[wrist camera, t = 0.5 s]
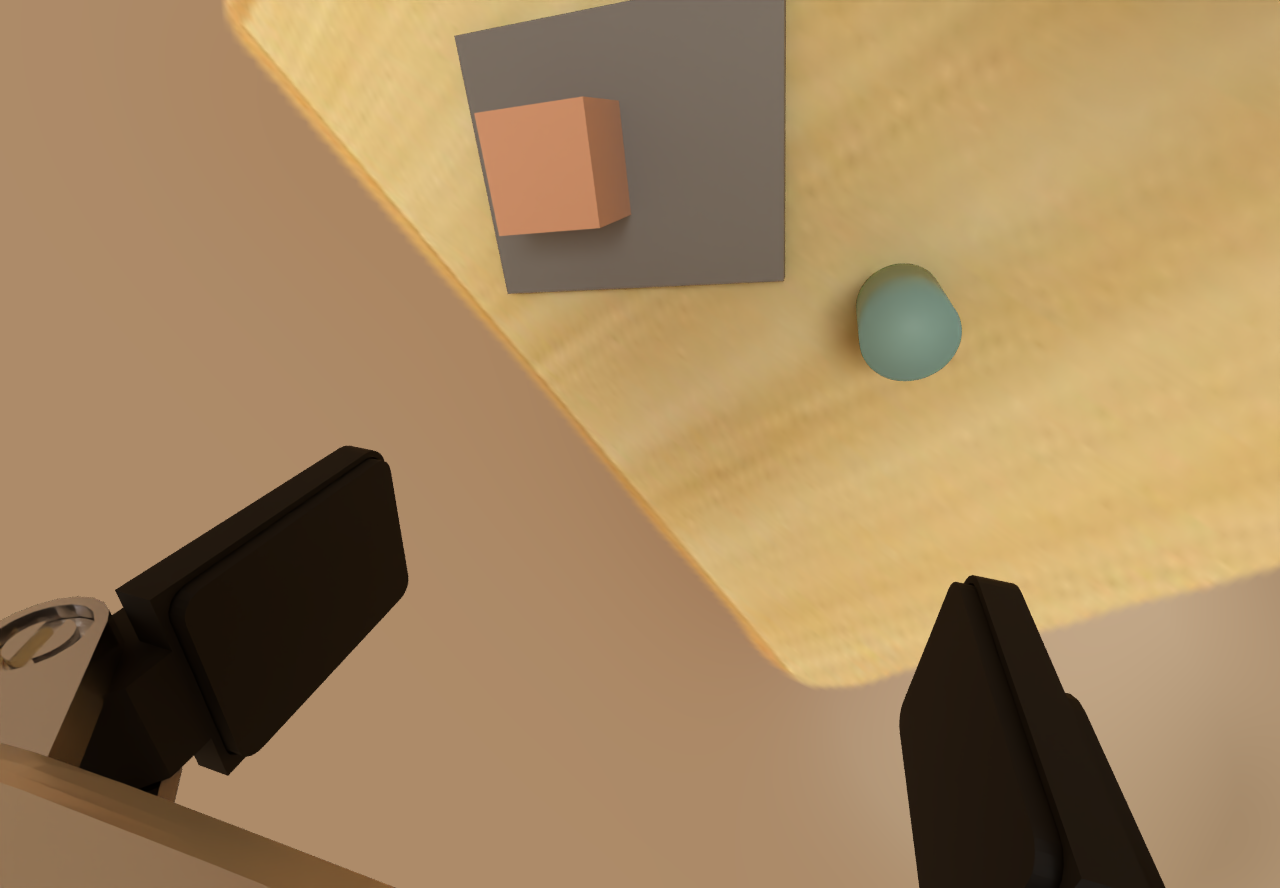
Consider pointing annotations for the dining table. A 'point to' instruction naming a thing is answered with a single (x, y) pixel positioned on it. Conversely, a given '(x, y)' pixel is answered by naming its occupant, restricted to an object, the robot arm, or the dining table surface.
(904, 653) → the dining table surface
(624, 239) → the board
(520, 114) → the block
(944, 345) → the cylinder
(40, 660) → the robot arm
